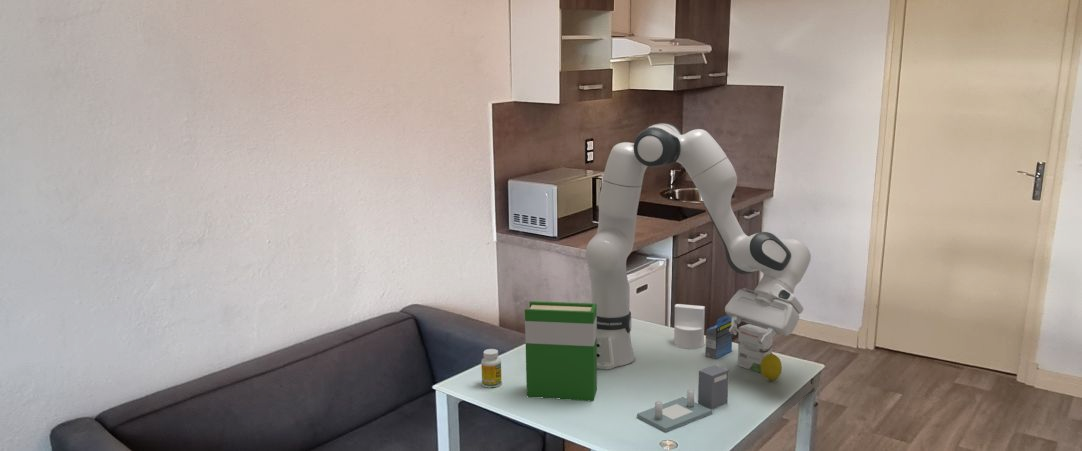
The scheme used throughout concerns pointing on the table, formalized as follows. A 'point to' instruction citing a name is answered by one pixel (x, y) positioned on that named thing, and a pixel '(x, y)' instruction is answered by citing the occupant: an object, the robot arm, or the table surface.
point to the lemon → (771, 367)
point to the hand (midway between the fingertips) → (746, 338)
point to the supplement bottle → (491, 368)
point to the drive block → (713, 387)
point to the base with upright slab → (689, 326)
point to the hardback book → (561, 350)
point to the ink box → (752, 347)
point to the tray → (674, 413)
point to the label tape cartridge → (719, 339)
